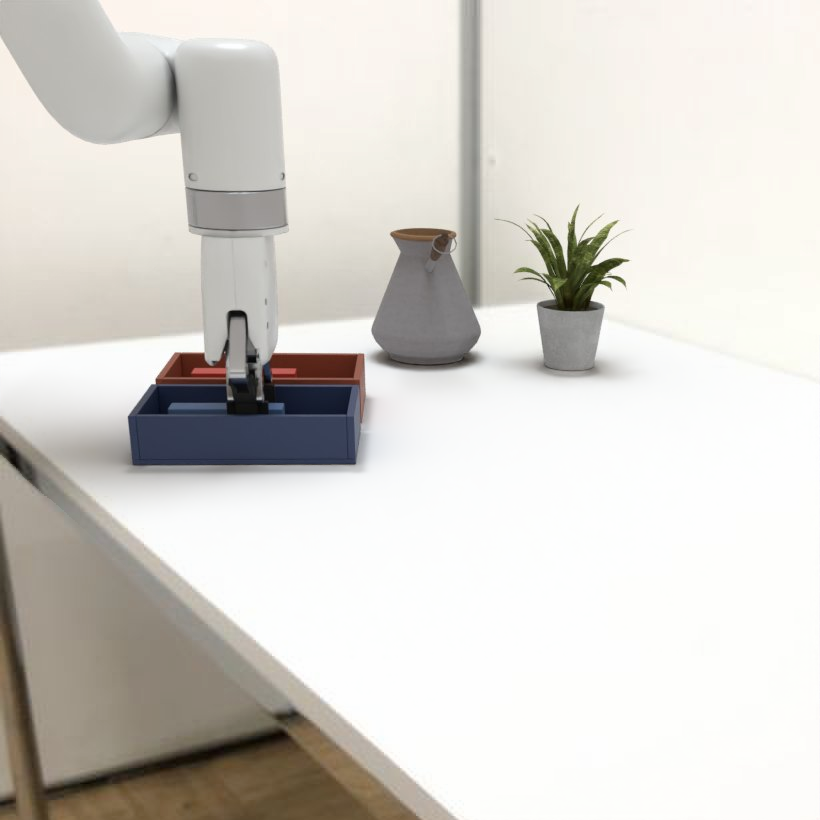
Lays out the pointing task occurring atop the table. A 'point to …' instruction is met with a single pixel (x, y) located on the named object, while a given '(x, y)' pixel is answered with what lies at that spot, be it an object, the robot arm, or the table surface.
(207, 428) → the blue bin
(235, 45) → the robot arm
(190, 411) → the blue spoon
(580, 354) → the house plant
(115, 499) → the table surface
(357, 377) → the red bin
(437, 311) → the coffee pot
